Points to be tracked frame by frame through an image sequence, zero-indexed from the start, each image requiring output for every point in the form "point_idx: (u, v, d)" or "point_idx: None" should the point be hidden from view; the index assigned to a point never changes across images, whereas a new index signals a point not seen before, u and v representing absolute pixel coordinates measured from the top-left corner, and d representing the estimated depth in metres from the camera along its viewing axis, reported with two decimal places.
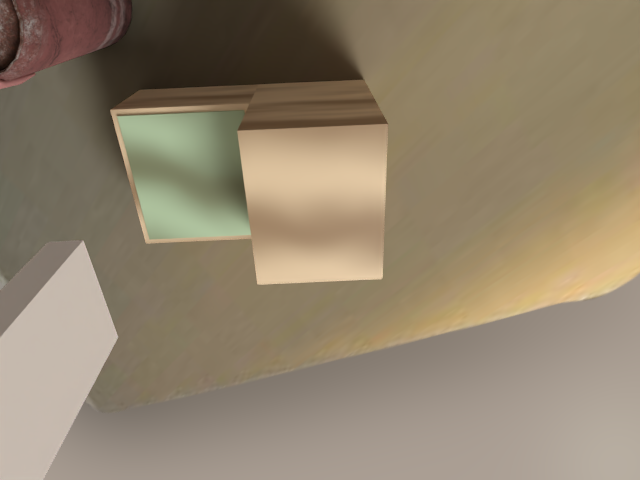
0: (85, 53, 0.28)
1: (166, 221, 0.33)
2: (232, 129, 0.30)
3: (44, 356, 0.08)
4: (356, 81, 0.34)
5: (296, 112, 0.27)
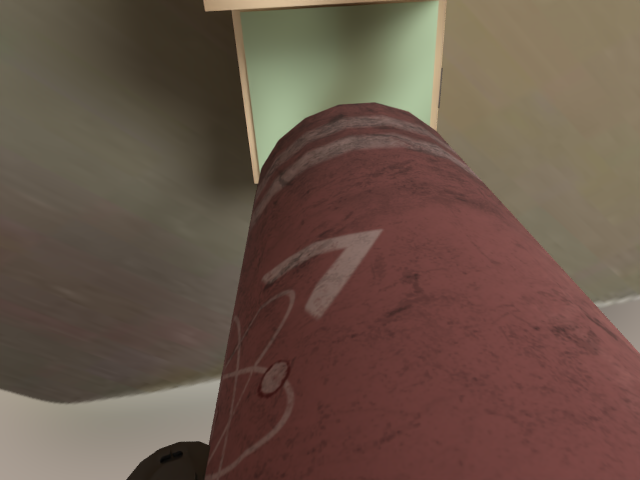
0: None
1: None
2: (267, 31, 0.21)
3: None
4: None
5: None
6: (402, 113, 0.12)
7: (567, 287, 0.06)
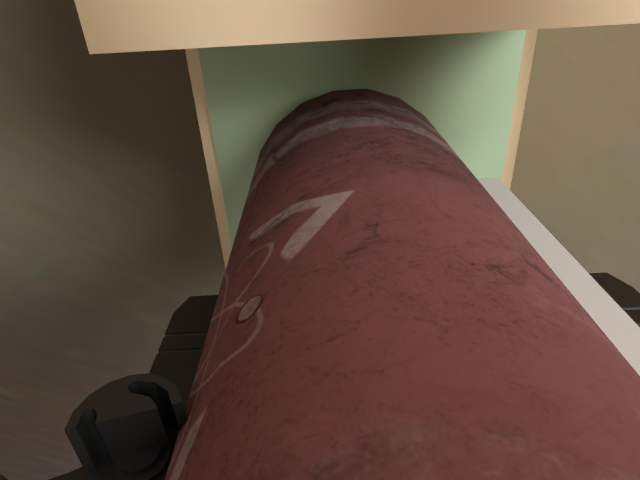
0: None
1: None
2: (243, 68, 0.13)
3: None
4: None
5: None
6: (392, 99, 0.12)
7: (516, 241, 0.06)
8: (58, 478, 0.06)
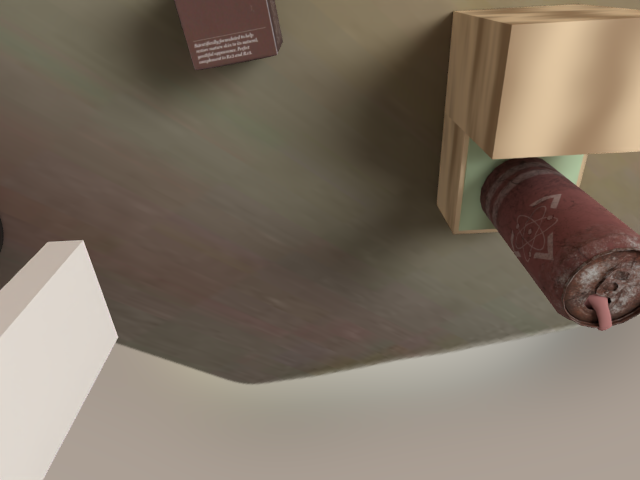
0: None
1: None
2: None
3: (44, 356, 0.08)
4: (454, 20, 0.36)
5: (482, 100, 0.31)
6: (541, 160, 0.35)
7: None
8: None
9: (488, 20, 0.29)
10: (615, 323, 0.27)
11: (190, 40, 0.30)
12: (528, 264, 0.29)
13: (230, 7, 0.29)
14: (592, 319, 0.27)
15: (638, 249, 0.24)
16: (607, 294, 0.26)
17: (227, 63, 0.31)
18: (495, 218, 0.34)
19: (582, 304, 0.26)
